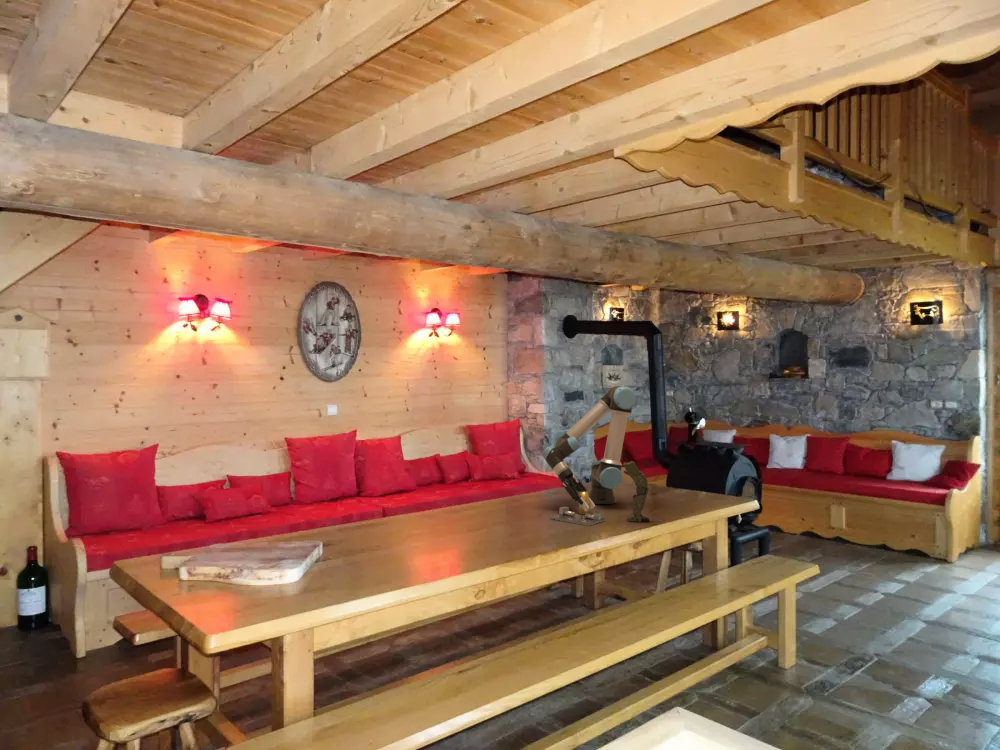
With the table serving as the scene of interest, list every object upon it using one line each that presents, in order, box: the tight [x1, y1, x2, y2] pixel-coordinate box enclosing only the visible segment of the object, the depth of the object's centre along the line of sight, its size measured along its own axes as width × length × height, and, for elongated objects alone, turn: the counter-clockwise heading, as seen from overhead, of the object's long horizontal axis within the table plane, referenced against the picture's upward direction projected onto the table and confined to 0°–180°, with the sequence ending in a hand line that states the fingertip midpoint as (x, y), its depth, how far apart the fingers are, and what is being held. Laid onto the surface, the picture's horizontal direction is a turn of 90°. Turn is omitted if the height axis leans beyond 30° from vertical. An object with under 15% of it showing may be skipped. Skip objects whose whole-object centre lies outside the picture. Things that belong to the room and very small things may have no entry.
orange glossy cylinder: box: [578, 490, 590, 515], centre depth 360 cm, size 5×5×11 cm
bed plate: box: [549, 506, 607, 527], centre depth 344 cm, size 23×14×5 cm, turn 50°
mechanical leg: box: [622, 460, 651, 523], centre depth 343 cm, size 14×7×30 cm, turn 84°
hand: (590, 508), depth 357 cm, fingers closed on orange glossy cylinder, 5 cm apart
